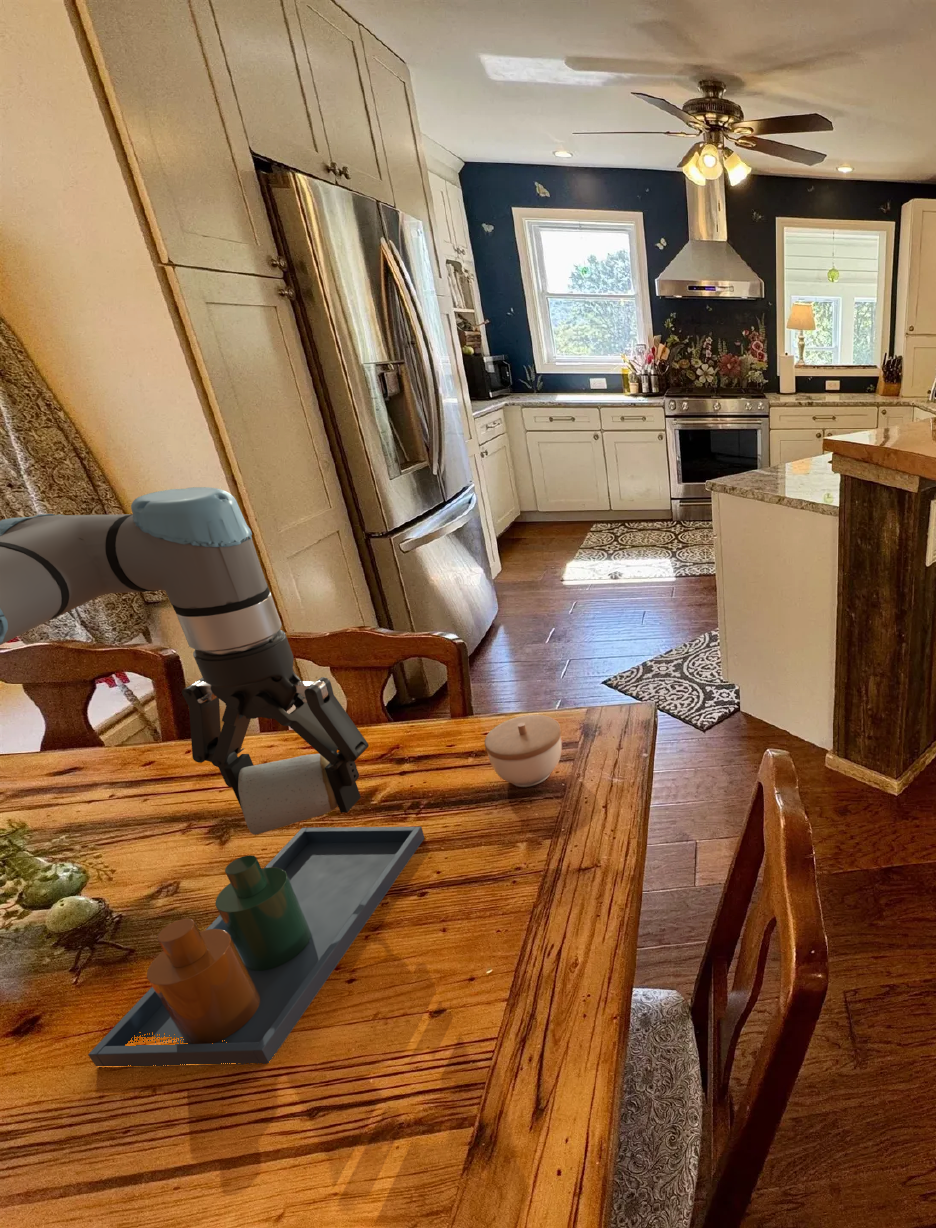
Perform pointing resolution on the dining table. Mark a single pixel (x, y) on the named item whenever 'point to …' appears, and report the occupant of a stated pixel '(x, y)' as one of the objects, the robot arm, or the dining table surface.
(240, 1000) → the amber bottle
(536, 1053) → the dining table surface
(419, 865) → the dining table surface
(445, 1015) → the dining table surface
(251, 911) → the green bottle
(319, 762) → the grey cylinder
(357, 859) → the tray
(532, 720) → the trinket box
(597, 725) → the dining table surface
